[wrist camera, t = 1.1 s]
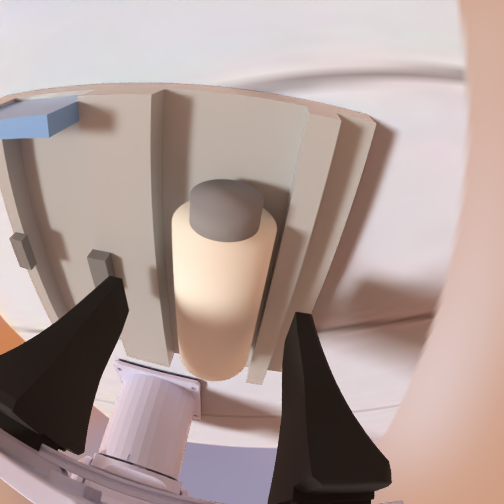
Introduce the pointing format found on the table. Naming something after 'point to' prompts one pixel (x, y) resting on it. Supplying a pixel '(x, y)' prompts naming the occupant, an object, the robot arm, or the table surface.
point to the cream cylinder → (220, 274)
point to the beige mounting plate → (173, 195)
